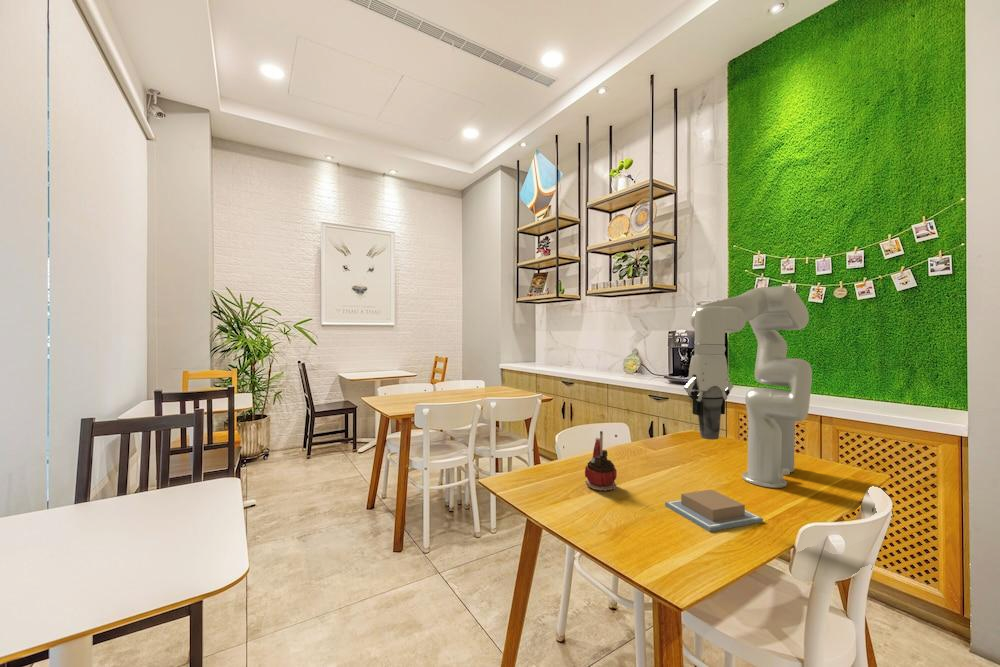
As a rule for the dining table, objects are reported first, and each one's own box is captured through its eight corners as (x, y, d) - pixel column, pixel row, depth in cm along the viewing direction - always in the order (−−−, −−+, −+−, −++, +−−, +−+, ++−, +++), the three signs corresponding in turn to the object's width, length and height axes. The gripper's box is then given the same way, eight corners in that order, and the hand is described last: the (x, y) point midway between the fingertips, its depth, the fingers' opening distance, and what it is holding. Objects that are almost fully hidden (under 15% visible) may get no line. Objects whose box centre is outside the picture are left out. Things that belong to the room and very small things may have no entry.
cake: (611, 495, 124) (611, 436, 124) (581, 489, 128) (582, 432, 128) (619, 484, 133) (619, 429, 133) (591, 478, 138) (592, 426, 137)
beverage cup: (729, 440, 109) (728, 367, 109) (702, 441, 110) (700, 368, 109) (716, 433, 117) (714, 364, 116) (690, 434, 117) (689, 365, 116)
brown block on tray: (713, 498, 122) (713, 485, 122) (762, 522, 107) (763, 507, 107) (665, 505, 117) (665, 491, 117) (709, 531, 101) (709, 516, 101)
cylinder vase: (756, 470, 147) (757, 402, 147) (751, 461, 159) (752, 397, 158) (797, 476, 142) (798, 405, 142) (789, 465, 153) (790, 400, 153)
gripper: (722, 349, 119) (722, 410, 119) (674, 350, 114) (673, 413, 114) (745, 351, 112) (744, 415, 112) (694, 351, 107) (693, 418, 107)
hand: (708, 413), depth 113 cm, fingers closed on beverage cup, 6 cm apart
